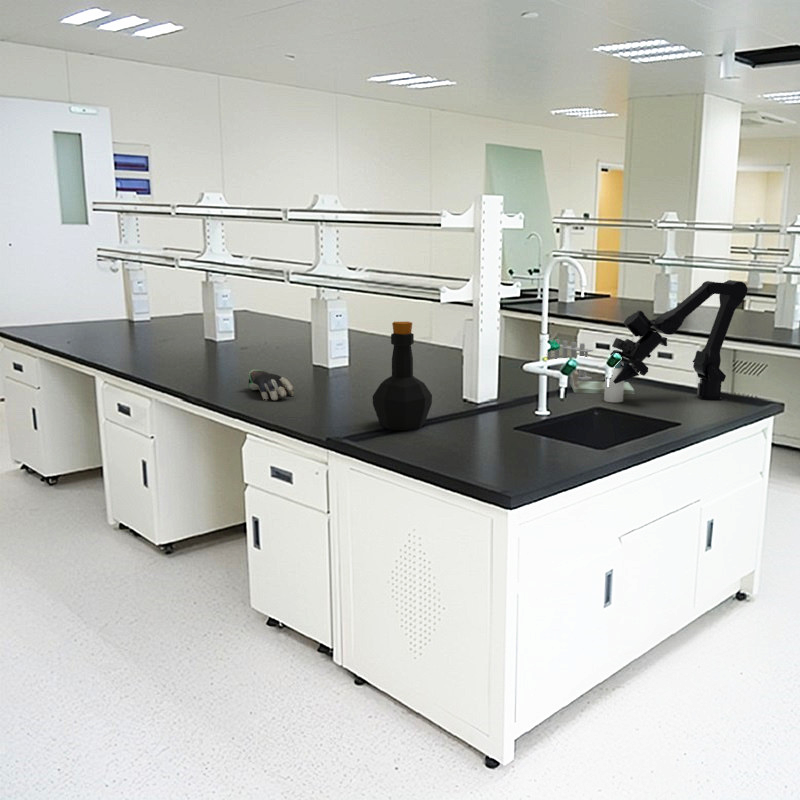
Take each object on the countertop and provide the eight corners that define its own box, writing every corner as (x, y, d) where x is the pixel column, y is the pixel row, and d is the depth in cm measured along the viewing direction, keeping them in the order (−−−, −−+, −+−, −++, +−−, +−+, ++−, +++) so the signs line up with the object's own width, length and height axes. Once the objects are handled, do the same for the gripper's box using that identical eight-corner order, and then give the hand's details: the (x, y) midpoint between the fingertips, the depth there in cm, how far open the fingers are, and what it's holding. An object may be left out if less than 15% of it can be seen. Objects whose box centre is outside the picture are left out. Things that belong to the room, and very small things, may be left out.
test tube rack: (592, 379, 307) (593, 344, 304) (583, 380, 304) (585, 345, 301) (545, 369, 327) (547, 336, 324) (537, 370, 325) (538, 337, 322)
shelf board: (628, 386, 293) (629, 368, 291) (634, 394, 279) (635, 375, 278) (571, 385, 295) (571, 367, 294) (574, 392, 281) (575, 374, 280)
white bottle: (621, 398, 271) (623, 360, 268) (624, 402, 265) (626, 363, 263) (603, 398, 272) (604, 359, 269) (605, 402, 266) (607, 362, 263)
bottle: (398, 416, 248) (397, 317, 241) (441, 424, 237) (442, 321, 231) (362, 426, 236) (361, 322, 229) (407, 435, 225) (407, 327, 219)
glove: (241, 398, 286) (267, 402, 265) (241, 369, 286) (266, 371, 264) (275, 397, 293) (302, 400, 271) (275, 369, 292) (302, 370, 270)
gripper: (617, 325, 273) (584, 359, 274) (641, 333, 255) (605, 369, 256) (638, 348, 276) (605, 381, 277) (663, 357, 258) (628, 392, 259)
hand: (610, 380), depth 267 cm, fingers closed on white bottle, 6 cm apart
